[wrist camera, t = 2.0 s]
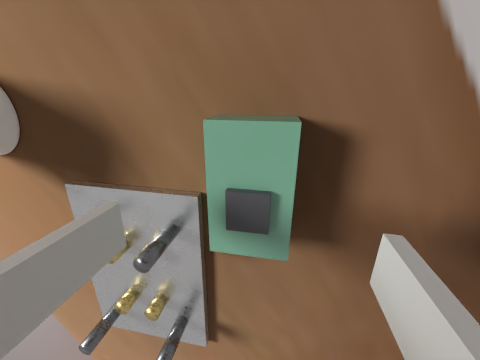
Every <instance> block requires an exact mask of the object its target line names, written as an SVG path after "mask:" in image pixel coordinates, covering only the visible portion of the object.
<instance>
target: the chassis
mask: <svg viewBox="0 0 480 360" xmlns="http://www.w3.org/2000/svg"><path fill="white" fill-rule="evenodd" d="M65 187H66V191H67V194H68V198H69V201H70V205H71V208H72V212H73V215H74V218H75V219H77V218H79V217H80V216H82V215H84V214H86V213H88V212H89V211H91V210H93V209H95V208H97V207H98V206H100V205H102V204H104V203H105V202H112V203H119V207H120V212H121V218H122V223H123V228H124V234H125V239H126V244H127V246H126V247H125V248H124V249H123V250H122V251H121V252H119V253H118V254H117V255H116V256H115V257H114V258H113V259H112V260H111V261H109V262H108V263H107V264H106V265H105V266H104V267H103V268H102V269H101V270H99V271H98V272H97V273H96V274H95V275H94V276H93V277H92V281H93V285H94V288H95V292H96V295H97V299H98V302H99V306H100V309H101V312H102V316H103V318H102V319H101V320H100V322H99V323H98V324H97V325H96V327H95V328H94V329H93V330H92V331H91V333H90V334H89V335H88V336H87V337H86V339H85V340H84V341H83V342H82V343H81V345H80V346H79V349H80V351H81V352H82V353H84V354H86V355H90V354H91V353H92V351H93V350H94V349H95V347H96V346H97V345H98V343H99V342H100V341H101V339H102V338H103V337H104V335H105V334H106V333H107V332H108V330H109V329H110V328H111V326H113V327H118V328H122V329H127V330H131V331H136V332H140V333H145V334H149V335H154V336H158V337H163V338H167V339H166V341H165V343H164V345H163V347H162V349H161V351H160V353H159V355H158V357H157V359H156V360H172V358H173V356H174V353H175V351H176V349H177V346H178V344H179V342H180V341H181V342H186V343H190V344H195V345H199V346H204V347H207V344H208V341H209V328H208V309H207V290H206V271H205V252H204V232H203V213H202V194H201V192H191V191H180V190H170V189H159V188H149V187H138V186H127V185H117V184H106V183H96V182H85V181H74V180H73V181H71V182H68V183H66V184H65Z"/></svg>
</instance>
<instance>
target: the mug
mask: <svg viewBox="0 0 480 360" xmlns="http://www.w3.org/2000/svg"><path fill="white" fill-rule="evenodd" d="M19 135H20V128H19V121H18V117H17V114H16V111H15V109H14V107H13V105H12V103H11V101H10V99H9V97H8V96H7V94H6V93H5V92H4V90H3V89H2V88H1V87H0V155H5V154H8V153H10V152H11V151H12V150H13V149H14V148H15V147H16V145H17V143H18V140H19Z"/></svg>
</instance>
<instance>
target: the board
mask: <svg viewBox="0 0 480 360" xmlns="http://www.w3.org/2000/svg"><path fill="white" fill-rule="evenodd" d="M301 124H302V122H301V120H300V119H299V117H298V116H262V115H218V116H215V117H211V118H207V119H204V120H203V128H204V147H205V167H206V186H207V205H208V224H209V243H210V251H215V252H223V253H230V254H237V255H245V256H252V257H260V258H267V259H275V260H282V261H288V253H289V243H290V233H291V223H292V213H293V203H294V193H295V183H296V173H297V163H298V154H299V144H300V134H301Z"/></svg>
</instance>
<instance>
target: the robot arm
mask: <svg viewBox="0 0 480 360" xmlns="http://www.w3.org/2000/svg"><path fill="white" fill-rule="evenodd" d="M126 246H127V244H126V239H125V234H124V228H123V223H122V218H121V212H120V207H119V203H112V202H105V203H104V204H102V205H100V206H98V207H97V208H95V209H93V210H91V211H89V212H88V213H86V214H84V215H82V216H80V217H79V218H77V219H75V220H73V221H71V222H70V223H68V224H66V225H64V226H62V227H61V228H59V229H57V230H55V231H53V232H52V233H50V234H48V235H46V236H45V237H43V238H41V239H39V240H37V241H36V242H34V243H32V244H30V245H28V246H27V247H25V248H23V249H21V250H19V251H18V252H16V253H14V254H12V255H10V256H9V257H7V258H5V259H3V260H1V261H0V360H1V359H2V358H3V357H4V356H5V355H6V354H8V353H9V352H10V351H11V350H12V349H13V348H14V347H15V346H16V345H17V344H18V343H20V342H21V341H22V340H23V339H24V338H25V337H26V336H27V335H29V334H30V333H31V332H32V331H33V330H34V329H35V328H36V327H37V326H39V325H40V324H41V323H42V322H43V321H44V320H45V319H46V318H47V317H48V316H50V315H51V314H52V313H53V312H54V311H55V310H56V309H57V308H58V307H60V306H61V305H62V304H63V303H64V302H65V301H66V300H67V299H68V298H70V297H71V296H72V295H73V294H74V293H75V292H76V291H77V290H78V289H80V288H81V287H82V286H83V285H84V284H85V283H86V282H87V281H88V280H89V279H91V278H92V277H93V276H94V275H95V274H96V273H97V272H98V271H99V270H101V269H102V268H103V267H104V266H105V265H106V264H107V263H108V262H109V261H111V260H112V259H113V258H114V257H115V256H116V255H117V254H118V253H119V252H121V251H122V250H123V249H124V248H125V247H126ZM370 285H371V287H372V289H373V291H374V293H375V296H376V298H377V300H378V302H379V304H380V307H381V309H382V311H383V313H384V315H385V317H386V320H387V322H388V324H389V326H390V328H391V331H392V333H393V335H394V337H395V339H396V342H397V344H398V346H399V348H400V350H401V352H402V355H403V357H404V359H405V360H480V324H478V322H477V321H476V320H475V319H474V318H473V317H472V315H471V314H470V313H469V312H468V311H467V310H466V308H465V307H464V306H463V305H462V304H461V303H460V302H459V300H458V299H457V298H456V297H455V296H454V295H453V293H452V292H451V291H450V290H449V289H448V288H447V286H446V285H445V284H444V283H443V282H442V281H441V280H440V278H439V277H438V276H437V275H436V274H435V273H434V271H433V270H432V269H431V268H430V267H429V266H428V264H427V263H426V262H425V261H424V260H423V259H422V258H421V256H420V255H419V254H418V253H417V252H416V251H415V249H414V248H413V247H412V246H411V245H410V244H409V242H408V241H407V240H406V239H405V238H404V237H403V236H401V235H392V234H384V233H383V236H382V240H381V243H380V247H379V250H378V254H377V258H376V261H375V265H374V269H373V272H372V276H371V280H370Z"/></svg>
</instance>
